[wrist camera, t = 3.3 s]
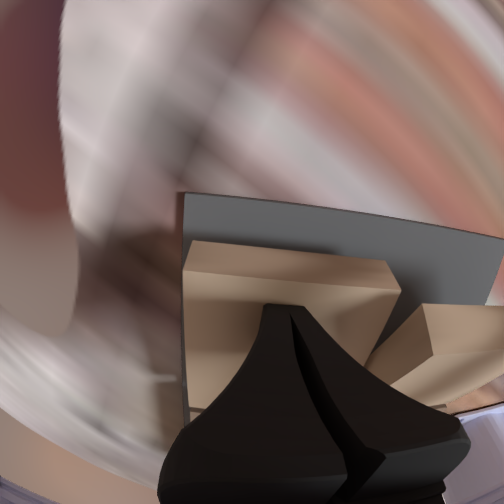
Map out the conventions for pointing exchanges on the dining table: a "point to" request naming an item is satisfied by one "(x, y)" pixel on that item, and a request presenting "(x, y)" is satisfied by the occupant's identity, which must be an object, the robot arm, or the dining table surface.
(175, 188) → the dining table surface
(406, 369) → the plank
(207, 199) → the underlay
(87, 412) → the dining table surface
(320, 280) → the plank
